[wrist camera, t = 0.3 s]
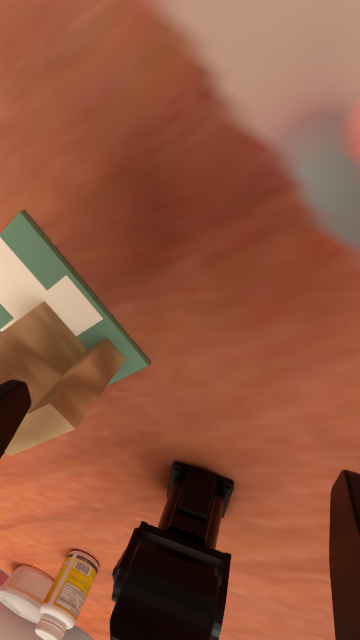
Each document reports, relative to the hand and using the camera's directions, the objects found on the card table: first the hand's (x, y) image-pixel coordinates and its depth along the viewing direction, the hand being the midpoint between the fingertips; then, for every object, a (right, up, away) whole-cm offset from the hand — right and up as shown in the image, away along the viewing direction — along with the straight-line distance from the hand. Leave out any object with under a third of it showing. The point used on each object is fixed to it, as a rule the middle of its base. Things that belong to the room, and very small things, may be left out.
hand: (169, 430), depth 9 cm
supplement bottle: (-15, -36, +46) cm, 60 cm away
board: (-11, +3, +21) cm, 24 cm away
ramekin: (-28, -48, +58) cm, 80 cm away
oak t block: (-10, +1, +21) cm, 23 cm away
